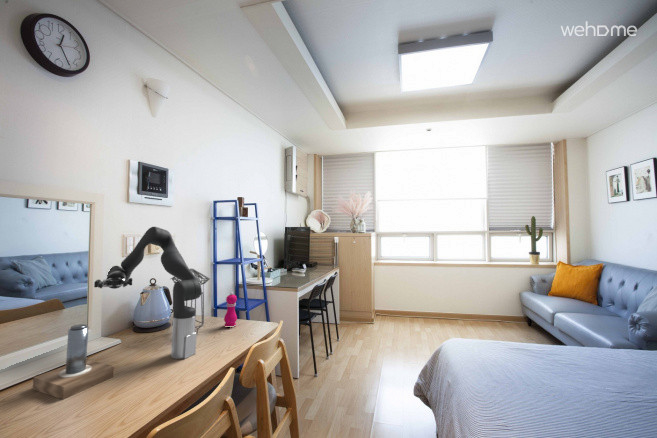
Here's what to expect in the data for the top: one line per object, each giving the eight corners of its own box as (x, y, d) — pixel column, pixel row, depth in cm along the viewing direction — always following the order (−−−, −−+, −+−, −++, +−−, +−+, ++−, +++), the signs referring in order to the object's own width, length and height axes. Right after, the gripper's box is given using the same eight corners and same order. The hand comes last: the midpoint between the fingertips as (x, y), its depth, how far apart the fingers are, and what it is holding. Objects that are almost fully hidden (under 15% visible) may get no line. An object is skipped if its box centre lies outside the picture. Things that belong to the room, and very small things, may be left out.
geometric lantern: (193, 326, 168) (196, 266, 169) (208, 333, 158) (212, 268, 160) (165, 334, 155) (169, 268, 156) (180, 341, 146) (184, 271, 147)
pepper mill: (224, 329, 166) (226, 293, 166) (222, 325, 172) (224, 291, 173) (237, 327, 169) (239, 292, 170) (235, 323, 175) (237, 290, 176)
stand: (113, 376, 110) (113, 365, 110) (63, 399, 95) (64, 386, 95) (84, 368, 115) (85, 357, 115) (32, 389, 100) (33, 376, 100)
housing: (89, 367, 108) (92, 323, 109) (77, 374, 103) (80, 329, 103) (74, 366, 108) (77, 323, 109) (60, 374, 102) (64, 328, 103)
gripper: (98, 272, 141) (93, 277, 127) (133, 271, 149) (132, 276, 135) (97, 288, 141) (92, 295, 127) (132, 286, 148) (131, 292, 135)
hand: (112, 285), depth 131 cm, fingers open, 8 cm apart
